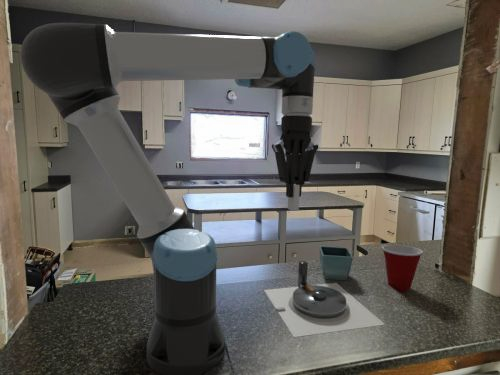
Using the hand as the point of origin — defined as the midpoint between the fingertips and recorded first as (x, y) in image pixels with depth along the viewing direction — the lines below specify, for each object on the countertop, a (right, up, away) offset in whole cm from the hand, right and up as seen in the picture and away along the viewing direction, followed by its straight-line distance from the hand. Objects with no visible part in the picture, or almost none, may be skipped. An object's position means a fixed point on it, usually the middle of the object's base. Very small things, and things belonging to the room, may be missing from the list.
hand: (293, 209), depth 83 cm
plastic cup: (+33, -24, +12) cm, 42 cm away
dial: (+6, -23, 0) cm, 24 cm away
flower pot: (+15, -23, +17) cm, 32 cm away
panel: (+6, -25, -2) cm, 26 cm away
